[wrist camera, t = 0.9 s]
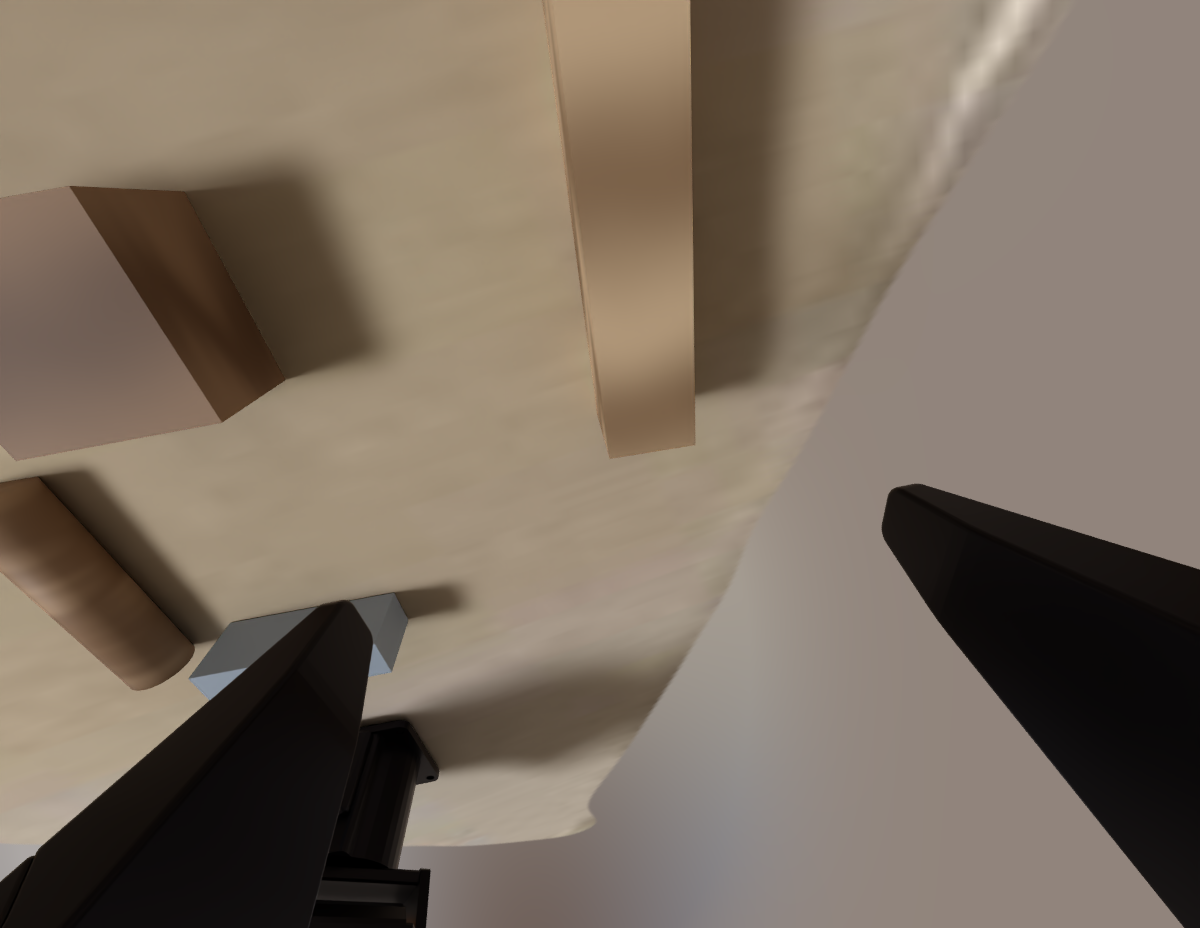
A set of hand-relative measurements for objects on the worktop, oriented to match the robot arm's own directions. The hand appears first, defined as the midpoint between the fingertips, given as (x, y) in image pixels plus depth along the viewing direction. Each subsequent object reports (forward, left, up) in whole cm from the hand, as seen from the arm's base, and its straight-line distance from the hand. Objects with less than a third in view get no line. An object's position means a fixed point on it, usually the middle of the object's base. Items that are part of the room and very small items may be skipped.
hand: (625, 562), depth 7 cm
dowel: (-6, +22, -12) cm, 25 cm away
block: (+4, +14, -12) cm, 19 cm away
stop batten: (-11, +15, -12) cm, 22 cm away
